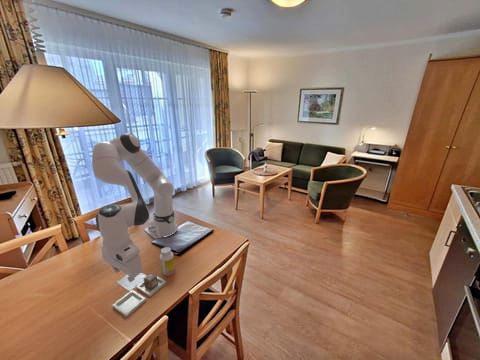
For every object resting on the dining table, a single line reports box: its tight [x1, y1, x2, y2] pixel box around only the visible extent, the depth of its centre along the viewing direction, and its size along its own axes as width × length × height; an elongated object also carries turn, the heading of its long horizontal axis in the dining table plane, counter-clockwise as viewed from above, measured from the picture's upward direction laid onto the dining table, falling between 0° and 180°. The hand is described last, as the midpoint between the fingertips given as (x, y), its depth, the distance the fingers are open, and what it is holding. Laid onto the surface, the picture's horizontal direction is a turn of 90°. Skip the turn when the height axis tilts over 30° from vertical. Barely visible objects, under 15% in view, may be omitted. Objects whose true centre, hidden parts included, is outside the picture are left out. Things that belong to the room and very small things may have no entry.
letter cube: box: [144, 272, 158, 290], centre depth 98 cm, size 4×4×5 cm
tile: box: [115, 272, 147, 292], centre depth 102 cm, size 10×10×1 cm
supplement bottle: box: [159, 246, 176, 276], centre depth 106 cm, size 7×7×13 cm
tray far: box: [112, 289, 147, 318], centre depth 90 cm, size 9×9×2 cm
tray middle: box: [135, 275, 167, 298], centre depth 99 cm, size 9×9×2 cm
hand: (124, 275), depth 85 cm, fingers open, 8 cm apart
